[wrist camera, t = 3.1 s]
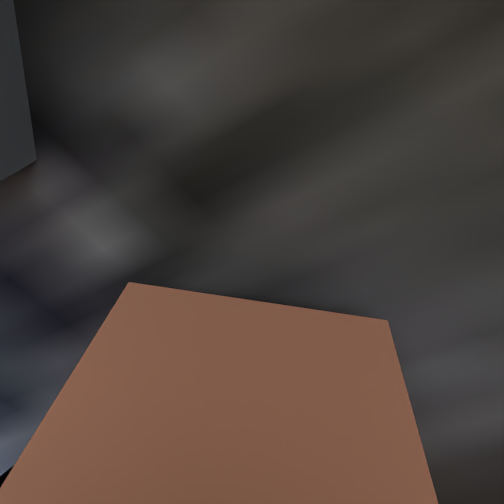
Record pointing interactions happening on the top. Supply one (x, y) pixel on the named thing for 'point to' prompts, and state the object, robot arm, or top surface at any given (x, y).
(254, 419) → the terracotta block
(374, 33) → the top surface
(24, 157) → the slate base block
